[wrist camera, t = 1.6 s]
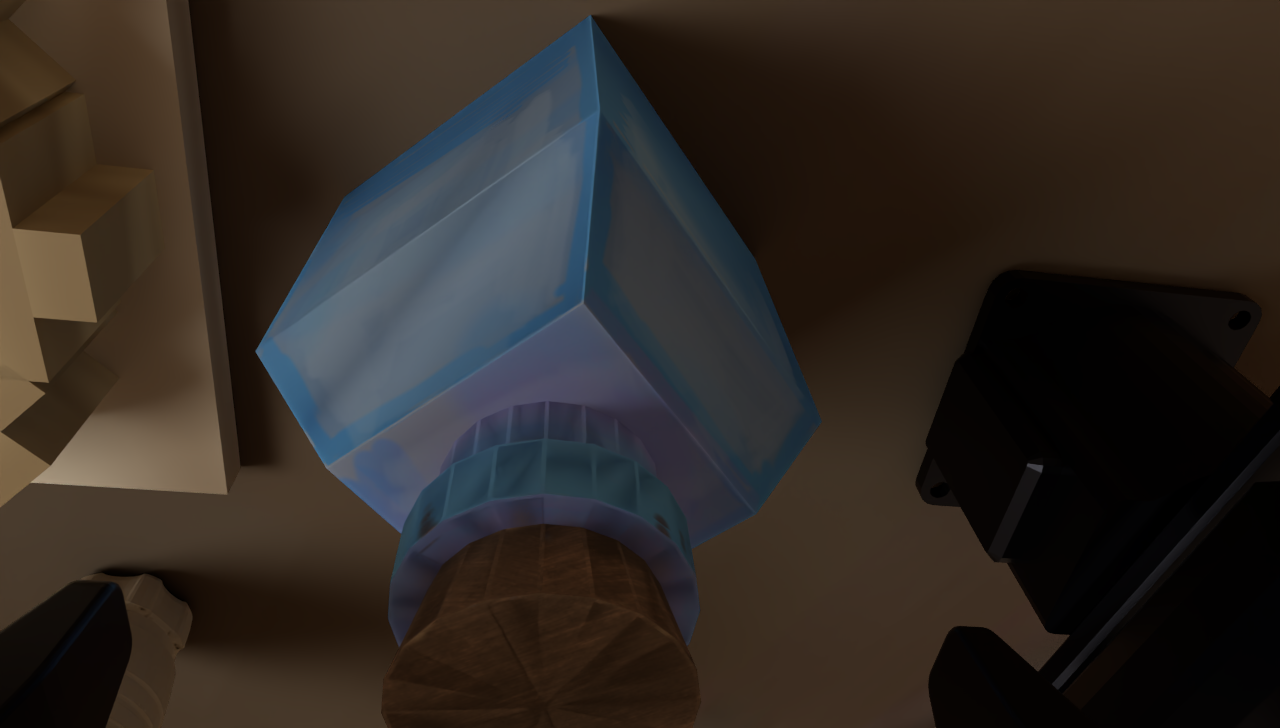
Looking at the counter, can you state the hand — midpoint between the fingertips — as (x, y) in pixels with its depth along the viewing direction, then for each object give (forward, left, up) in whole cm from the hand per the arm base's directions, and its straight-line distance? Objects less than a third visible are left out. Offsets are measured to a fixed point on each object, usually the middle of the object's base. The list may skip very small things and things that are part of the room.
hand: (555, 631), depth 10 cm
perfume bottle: (0, 0, -11) cm, 11 cm away
